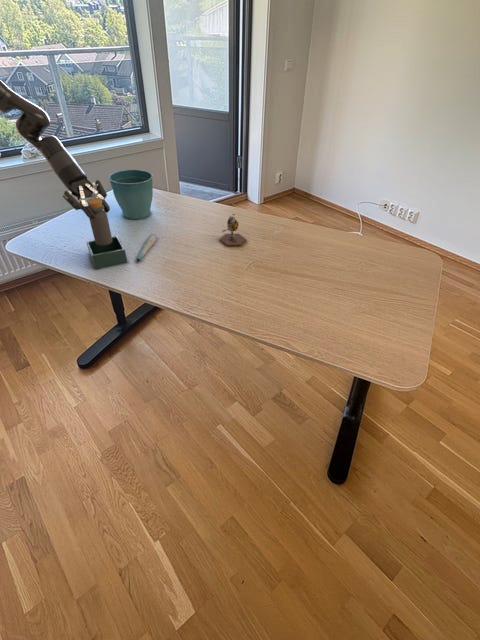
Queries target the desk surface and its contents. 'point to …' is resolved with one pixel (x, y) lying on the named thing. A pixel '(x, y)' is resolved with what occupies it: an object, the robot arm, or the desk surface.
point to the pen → (147, 246)
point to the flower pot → (133, 192)
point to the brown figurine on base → (232, 238)
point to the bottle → (99, 222)
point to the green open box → (107, 253)
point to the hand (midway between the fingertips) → (100, 214)
